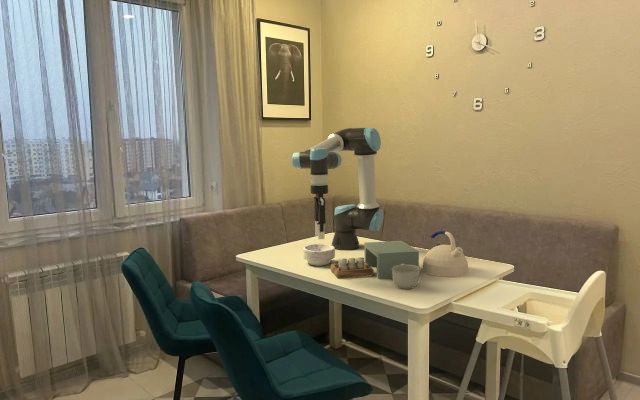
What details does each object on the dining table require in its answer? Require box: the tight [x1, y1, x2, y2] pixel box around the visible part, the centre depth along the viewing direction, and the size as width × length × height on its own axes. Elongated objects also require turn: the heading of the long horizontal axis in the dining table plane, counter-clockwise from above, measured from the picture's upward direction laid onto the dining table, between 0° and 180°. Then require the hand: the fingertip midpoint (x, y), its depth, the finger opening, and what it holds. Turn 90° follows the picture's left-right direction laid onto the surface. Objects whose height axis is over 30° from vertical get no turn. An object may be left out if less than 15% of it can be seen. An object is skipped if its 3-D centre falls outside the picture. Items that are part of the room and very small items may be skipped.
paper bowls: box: [302, 243, 336, 267], centre depth 230 cm, size 15×15×8 cm
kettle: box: [421, 230, 469, 278], centre depth 214 cm, size 20×21×18 cm
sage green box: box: [364, 240, 420, 280], centre depth 215 cm, size 22×18×11 cm
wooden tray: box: [330, 256, 374, 279], centre depth 212 cm, size 12×16×7 cm
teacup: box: [392, 264, 420, 290], centre depth 194 cm, size 14×11×8 cm
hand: (320, 237), depth 208 cm, fingers open, 6 cm apart
